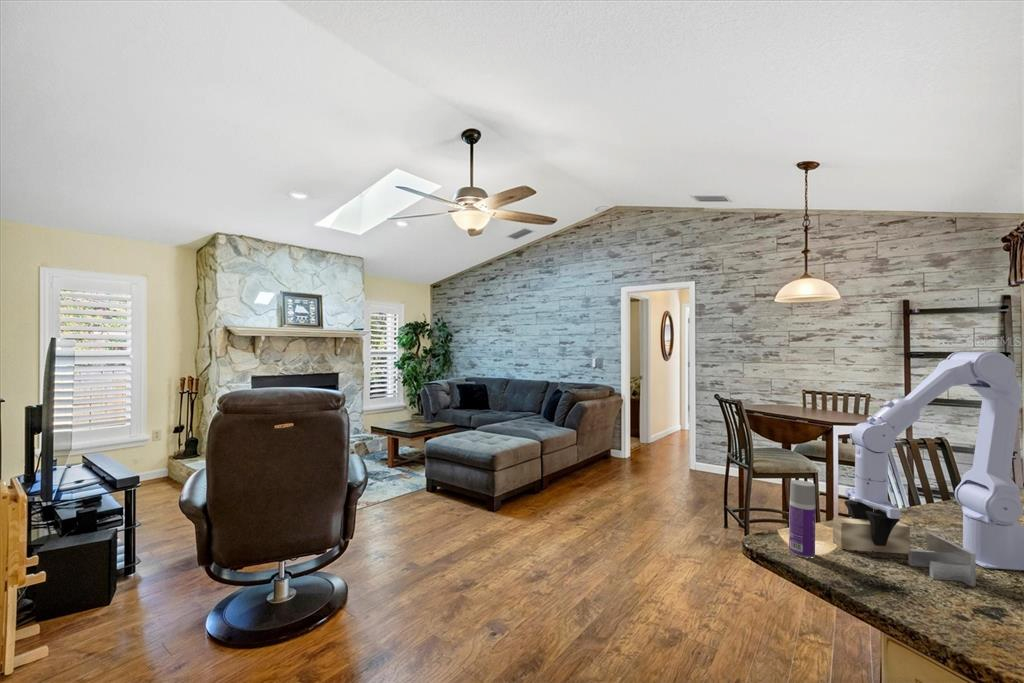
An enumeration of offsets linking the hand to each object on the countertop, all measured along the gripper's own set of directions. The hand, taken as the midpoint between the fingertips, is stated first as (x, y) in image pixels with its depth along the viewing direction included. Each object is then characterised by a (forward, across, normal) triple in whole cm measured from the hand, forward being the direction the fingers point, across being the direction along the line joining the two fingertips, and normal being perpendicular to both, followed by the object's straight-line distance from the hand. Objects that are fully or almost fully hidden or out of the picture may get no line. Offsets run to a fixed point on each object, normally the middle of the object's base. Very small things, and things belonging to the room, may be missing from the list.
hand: (870, 539), depth 100 cm
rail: (+2, 0, 0) cm, 2 cm away
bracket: (+2, +10, +6) cm, 12 cm away
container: (+2, +5, -17) cm, 18 cm away
